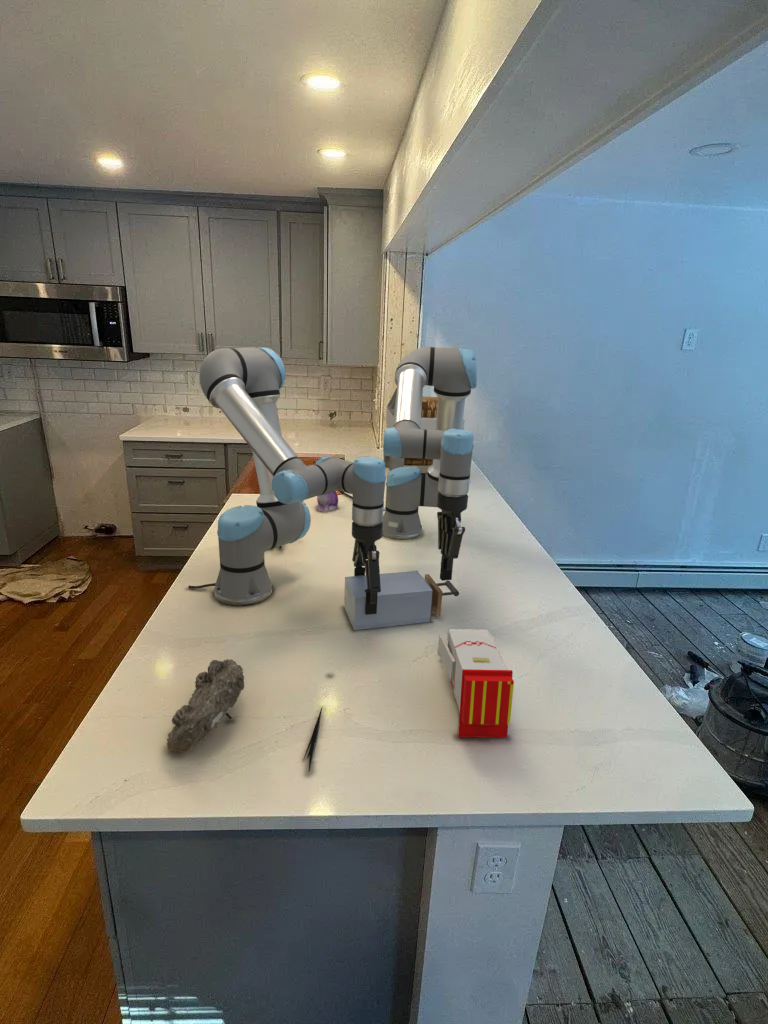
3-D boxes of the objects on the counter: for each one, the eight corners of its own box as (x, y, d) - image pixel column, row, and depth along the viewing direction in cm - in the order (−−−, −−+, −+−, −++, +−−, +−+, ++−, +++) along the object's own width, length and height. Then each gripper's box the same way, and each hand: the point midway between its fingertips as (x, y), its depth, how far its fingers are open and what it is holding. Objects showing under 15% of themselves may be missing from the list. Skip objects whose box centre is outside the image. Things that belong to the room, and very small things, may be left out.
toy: (488, 613, 130) (523, 677, 101) (484, 667, 133) (517, 744, 104) (435, 612, 130) (455, 676, 101) (432, 666, 133) (451, 743, 103)
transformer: (382, 463, 289) (386, 382, 275) (445, 464, 293) (451, 384, 279) (390, 482, 257) (394, 392, 243) (460, 483, 261) (468, 394, 247)
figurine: (320, 513, 215) (320, 475, 210) (311, 505, 224) (311, 468, 219) (343, 510, 219) (344, 473, 214) (333, 502, 228) (333, 466, 223)
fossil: (192, 660, 117) (244, 628, 112) (224, 691, 120) (276, 661, 115) (142, 746, 98) (202, 712, 93) (182, 779, 101) (242, 748, 96)
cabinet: (415, 600, 155) (417, 570, 152) (430, 621, 145) (432, 590, 142) (344, 607, 149) (344, 576, 146) (354, 630, 139) (355, 597, 136)
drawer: (445, 595, 156) (448, 572, 154) (460, 613, 147) (463, 589, 145) (360, 603, 150) (361, 579, 147) (370, 623, 141) (371, 598, 138)
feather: (331, 679, 122) (336, 673, 122) (307, 777, 96) (313, 769, 95) (324, 675, 122) (329, 669, 121) (298, 772, 95) (304, 764, 95)
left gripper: (397, 539, 127) (392, 624, 134) (370, 504, 148) (367, 579, 156) (364, 541, 125) (361, 627, 132) (342, 506, 146) (340, 581, 154)
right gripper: (478, 500, 136) (469, 589, 143) (456, 484, 147) (449, 567, 155) (449, 501, 133) (441, 591, 141) (429, 486, 145) (423, 569, 153)
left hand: (364, 601), depth 144 cm, fingers closed on cabinet, 11 cm apart
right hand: (445, 579), depth 148 cm, fingers closed
